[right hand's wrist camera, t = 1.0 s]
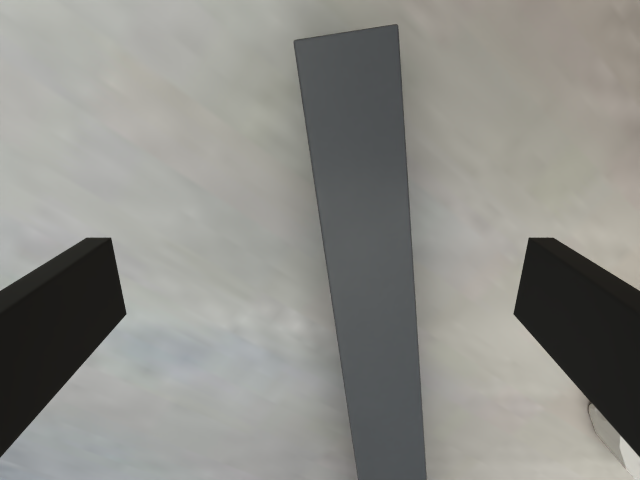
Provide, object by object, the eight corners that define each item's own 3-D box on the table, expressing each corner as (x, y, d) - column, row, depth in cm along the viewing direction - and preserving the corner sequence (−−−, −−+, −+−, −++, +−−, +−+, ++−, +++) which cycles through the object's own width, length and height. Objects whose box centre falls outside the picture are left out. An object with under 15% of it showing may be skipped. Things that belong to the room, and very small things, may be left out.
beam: (299, 57, 26) (293, 39, 18) (371, 46, 26) (398, 23, 18) (370, 550, 44) (384, 655, 36) (414, 545, 44) (437, 650, 36)
